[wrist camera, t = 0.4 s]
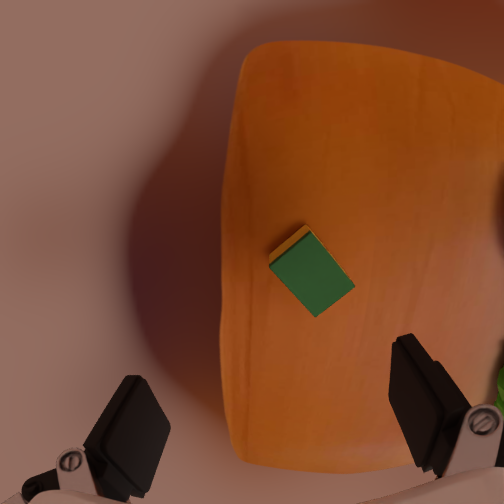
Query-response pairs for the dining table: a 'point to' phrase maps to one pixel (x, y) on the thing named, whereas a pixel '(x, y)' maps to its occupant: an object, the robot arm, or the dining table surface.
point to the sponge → (310, 271)
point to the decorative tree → (500, 392)
